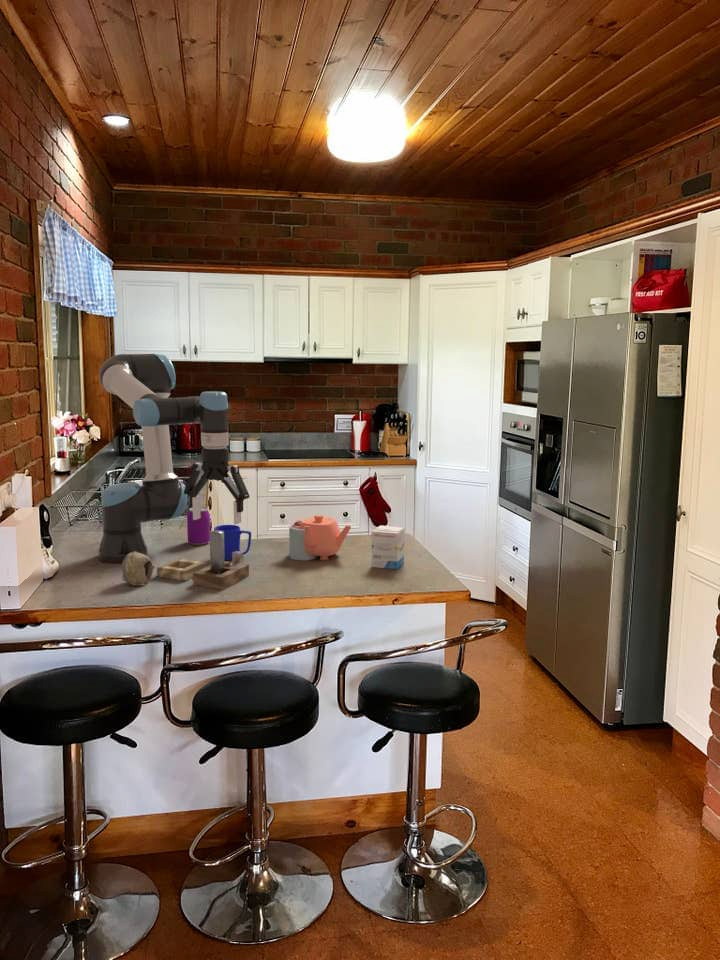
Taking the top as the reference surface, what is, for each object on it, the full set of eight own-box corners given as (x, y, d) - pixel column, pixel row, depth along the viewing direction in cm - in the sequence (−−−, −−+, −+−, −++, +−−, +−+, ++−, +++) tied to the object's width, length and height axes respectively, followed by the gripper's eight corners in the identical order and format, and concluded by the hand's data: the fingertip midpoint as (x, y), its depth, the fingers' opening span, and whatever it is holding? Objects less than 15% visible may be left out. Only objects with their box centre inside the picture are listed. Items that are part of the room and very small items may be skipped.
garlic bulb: (128, 595, 217) (116, 566, 212) (124, 582, 224) (113, 553, 220) (160, 582, 219) (149, 553, 215) (156, 569, 227) (145, 541, 222)
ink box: (404, 562, 244) (405, 526, 242) (397, 570, 236) (398, 533, 234) (378, 559, 247) (379, 524, 245) (370, 567, 239) (371, 530, 237)
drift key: (236, 570, 233) (236, 550, 232) (243, 571, 232) (243, 551, 231) (222, 577, 226) (221, 557, 225) (229, 578, 225) (229, 558, 224)
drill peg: (208, 583, 221) (206, 532, 218) (215, 579, 224) (214, 529, 222) (220, 585, 219) (219, 534, 217) (227, 581, 223) (226, 531, 220)
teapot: (352, 558, 247) (352, 518, 245) (305, 565, 239) (304, 523, 237) (329, 547, 261) (329, 508, 259) (284, 553, 253) (283, 513, 250)
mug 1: (246, 563, 241) (246, 532, 239) (210, 560, 244) (210, 529, 242) (255, 556, 249) (255, 526, 247) (220, 553, 251) (219, 524, 250)
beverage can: (208, 539, 269) (208, 506, 267) (211, 544, 262) (211, 510, 260) (186, 540, 267) (185, 507, 265) (189, 546, 260) (188, 511, 257)
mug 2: (283, 557, 248) (283, 527, 246) (299, 550, 256) (299, 521, 254) (319, 563, 241) (319, 533, 239) (334, 557, 249) (335, 527, 247)
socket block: (220, 571, 232) (219, 560, 231) (248, 575, 228) (248, 564, 228) (193, 584, 219) (193, 573, 219) (223, 589, 215) (223, 577, 215)
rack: (157, 576, 226) (156, 567, 226) (177, 567, 235) (177, 558, 235) (185, 581, 222) (185, 571, 222) (205, 571, 232) (204, 562, 231)
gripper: (169, 446, 216) (172, 519, 220) (246, 451, 207) (248, 528, 210) (185, 443, 223) (187, 514, 227) (260, 448, 214) (261, 522, 217)
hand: (217, 521), depth 218 cm, fingers open, 13 cm apart
